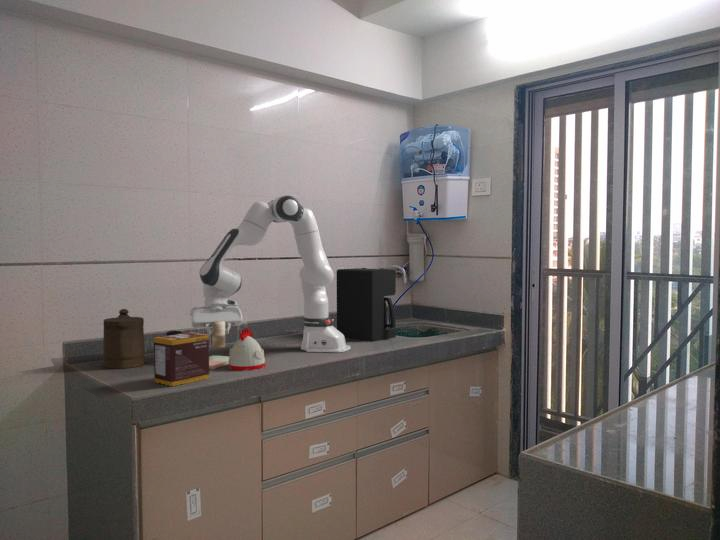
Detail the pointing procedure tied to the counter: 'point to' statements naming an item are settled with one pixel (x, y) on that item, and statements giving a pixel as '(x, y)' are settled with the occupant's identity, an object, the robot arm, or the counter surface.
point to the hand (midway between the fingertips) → (219, 333)
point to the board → (217, 361)
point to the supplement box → (181, 358)
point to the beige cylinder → (218, 334)
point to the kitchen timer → (246, 353)
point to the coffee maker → (365, 303)
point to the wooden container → (123, 341)
